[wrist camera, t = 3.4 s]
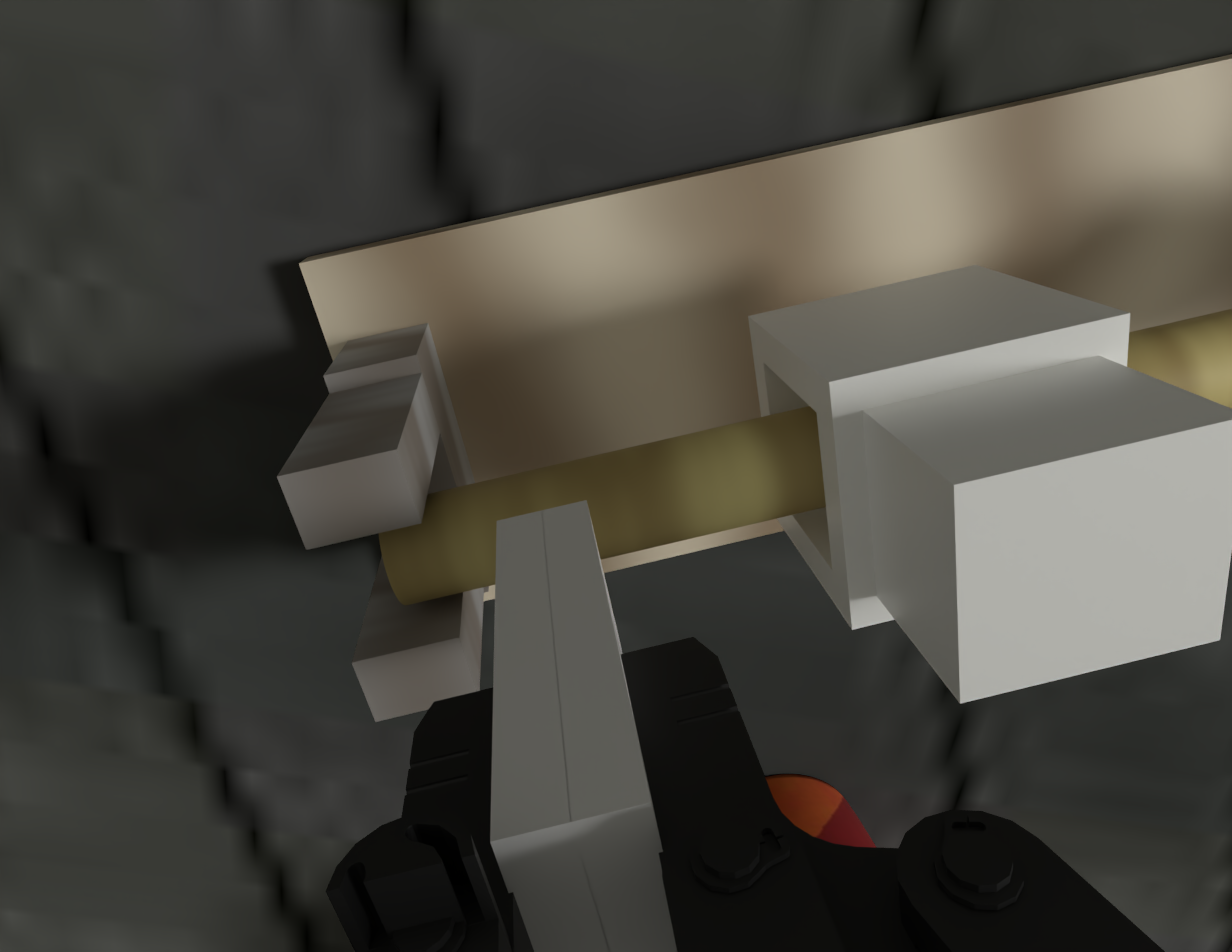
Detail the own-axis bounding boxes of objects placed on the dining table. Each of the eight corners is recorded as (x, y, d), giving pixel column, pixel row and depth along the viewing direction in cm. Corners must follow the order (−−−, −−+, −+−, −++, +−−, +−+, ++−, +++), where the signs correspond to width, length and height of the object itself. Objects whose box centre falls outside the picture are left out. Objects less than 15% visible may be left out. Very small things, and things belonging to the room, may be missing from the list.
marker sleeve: (774, 514, 20) (929, 743, 12) (747, 316, 18) (914, 451, 10) (978, 466, 20) (1247, 664, 13) (975, 264, 18) (1292, 363, 11)
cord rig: (425, 597, 24) (377, 882, 15) (307, 257, 20) (148, 370, 11) (1509, 342, 26) (2066, 467, 16) (1605, -28, 21) (2420, -137, 12)
